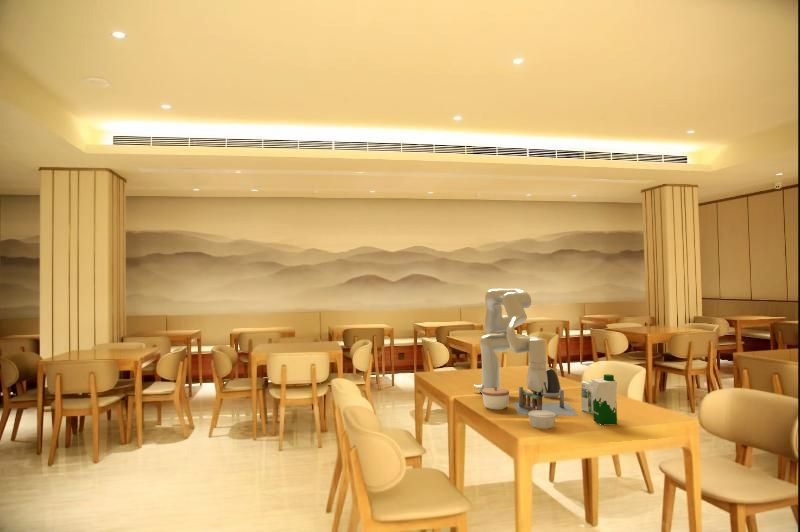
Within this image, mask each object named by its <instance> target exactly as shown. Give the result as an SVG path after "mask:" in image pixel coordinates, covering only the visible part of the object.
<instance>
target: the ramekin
mask: <svg viewBox="0 0 800 532" xmlns="http://www.w3.org/2000/svg"><path fill="white" fill-rule="evenodd" d="M527 416H528V419H529V425H530V426H531V427H532V426H533V427H532V428H535V429H540V428H541V430H544V429H545V430H548V429H552V428H553V427H554V426H555V421H556V420H555V419H556V416H557V415H556V414H555V413H553V412H550V411H544V410H535V411H530V412H529V413H528V415H527Z"/></svg>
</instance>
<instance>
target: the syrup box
mask: <svg viewBox="0 0 800 532" xmlns="http://www.w3.org/2000/svg"><path fill="white" fill-rule="evenodd" d="M580 389H581V390H580V392H581V394H580V395H581V396H580V397H581V404H580V405H581V412H584V413H587V414H593V387H592V380H583V381H581V382H580Z"/></svg>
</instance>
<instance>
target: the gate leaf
mask: <svg viewBox="0 0 800 532" xmlns="http://www.w3.org/2000/svg"><path fill="white" fill-rule="evenodd" d="M531 398H532V399H531ZM535 399H537V409H536V404H535ZM531 400H532V401H531ZM526 402H527V404H526ZM530 402H532V406H530ZM542 403H543V398H542V397H540V396H537V395H535V394H533V392H529V391H527V390H525V389H523V390H521V406H522V407H524V408H527V409H529V410H531V411H535V410H542Z"/></svg>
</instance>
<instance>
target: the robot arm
mask: <svg viewBox="0 0 800 532" xmlns="http://www.w3.org/2000/svg"><path fill="white" fill-rule="evenodd" d="M484 300H485V306H486V307H485V308H486V309H485V318H484V330H485V332H486V333H487V334H484V335H482V336H480V339H479V347H480V353H481V354H480V355H481V384H478V385H477V384H473V389H476V390H479V393H480V392H481V393H482V390H483V389H486V388H494V386H497V388H501V369H500V363H501V361H500V358H499V356H498V355H497V354H496V353H498V352H507V351H510V349H511V351H513V352H514V353H516V354H521V353H528V369H527V374H526V378H527V379H526V380H527V381H526V386H527V387H526V388H527V389H528V390H530V391H531V393H532V394H535V395H537V396H540V397H542V399H543V398H544V396H543V395H546V391H547V390H548V381H547V372H546V369H547V353H546V351H547V350H546V346H547V345H546V340H545V338H543V337H538V336H536V335H524V336H521V335H520V336H517V334H516V331H515V328H517V327H519V326H520V325H522V324H524V323H526V321H527V320H528V315H527V313H526V311H525V309H528V308H530V307H531V305H532V297H531V295H530V294H529V293H528V292H527V291H525V290H522V289H519V288H492V289H491V288H490V289H488V290H487V291H486V292H485V296H484ZM503 307H504V309H505V313H506V314H505V315H504V314H503ZM481 393H480V394H481ZM535 404H536V407H537V399H535Z"/></svg>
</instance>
